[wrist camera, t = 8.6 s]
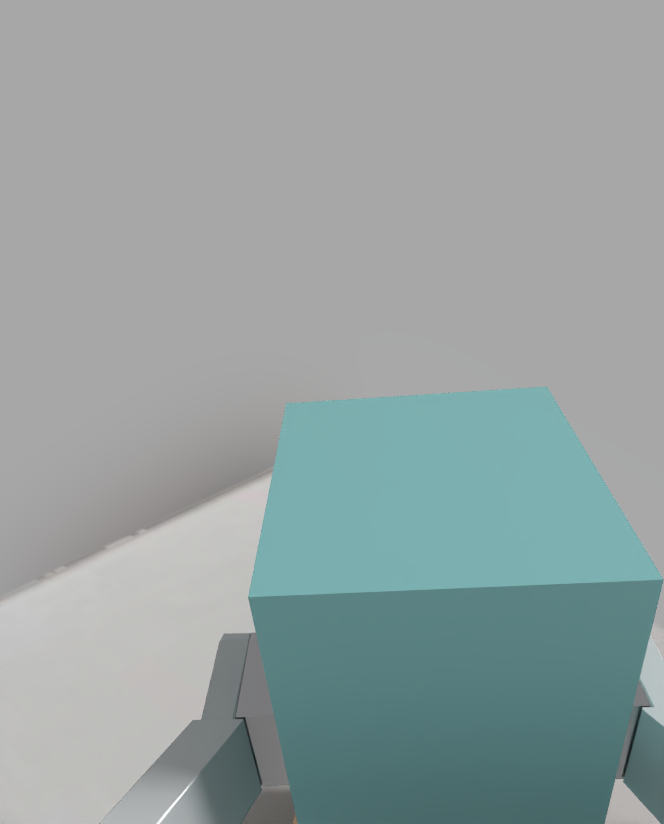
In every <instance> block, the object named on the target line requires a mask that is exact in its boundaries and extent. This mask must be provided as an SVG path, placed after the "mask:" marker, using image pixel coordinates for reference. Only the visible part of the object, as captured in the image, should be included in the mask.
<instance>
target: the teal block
mask: <svg viewBox="0 0 664 824" xmlns="http://www.w3.org/2000/svg"><path fill="white" fill-rule="evenodd" d="M662 584H663V578H662V576H661V575H660V573H659V571H658V570H657V568H656V566H655V565H654V563H653V561H652V560H651V558H650V556H649V555H648V553H647V551H646V550H645V548H644V547H643V545H642V543H641V542H640V540H639V538H638V537H637V535H636V533H635V532H634V530H633V528H632V527H631V525H630V524H629V522H628V520H627V518H626V517H625V515H624V513H623V512H622V510H621V508H620V507H619V505H618V503H617V502H616V500H615V499H614V497H613V495H612V494H611V492H610V490H609V489H608V487H607V485H606V484H605V482H604V480H603V479H602V477H601V475H600V474H599V472H598V471H597V469H596V467H595V465H594V464H593V462H592V461H591V459H590V457H589V455H588V454H587V452H586V451H585V449H584V447H583V446H582V444H581V442H580V441H579V439H578V437H577V436H576V434H575V433H574V431H573V429H572V427H571V426H570V424H569V422H568V421H567V419H566V417H565V416H564V414H563V412H562V411H561V409H560V407H559V406H558V404H557V403H556V401H555V399H554V398H553V396H552V394H551V393H550V391H549V389H548V388H547V387H534V388H518V389H503V390H488V391H472V392H456V393H441V394H426V395H410V396H396V397H395V396H394V397H379V398H363V399H348V400H332V401H317V402H302V403H287V404H286V409H285V413H284V418H283V423H282V428H281V433H280V438H279V443H278V449H277V454H276V459H275V464H274V469H273V474H272V479H271V484H270V489H269V494H268V499H267V504H266V510H265V515H264V520H263V525H262V530H261V535H260V540H259V545H258V550H257V555H256V560H255V565H254V571H253V576H252V581H251V586H250V591H249V596H248V598H249V603H250V607H251V612H252V617H253V621H254V626H255V630H256V635H257V640H258V644H259V649H260V653H261V658H262V662H263V667H264V672H265V676H266V681H267V685H268V690H269V695H270V699H271V704H272V708H273V713H274V717H275V722H276V727H277V731H278V736H279V740H280V745H281V749H282V754H283V759H284V763H285V768H286V772H287V777H288V782H289V786H290V791H291V795H292V800H293V804H294V809H295V814H296V818H297V823H298V824H604V823H605V819H606V815H607V811H608V806H609V802H610V798H611V794H612V790H613V786H614V782H615V778H616V773H617V769H618V765H619V761H620V757H621V753H622V749H623V745H624V740H625V736H626V732H627V728H628V724H629V720H630V716H631V712H632V707H633V703H634V699H635V695H636V691H637V687H638V683H639V679H640V674H641V670H642V666H643V662H644V658H645V654H646V650H647V646H648V642H649V637H650V633H651V629H652V625H653V621H654V617H655V613H656V609H657V604H658V600H659V596H660V592H661V588H662Z"/></svg>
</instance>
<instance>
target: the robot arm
mask: <svg viewBox="0 0 664 824" xmlns="http://www.w3.org/2000/svg"><path fill="white" fill-rule="evenodd" d="M615 779H624V781H623V782H624V783H625V784H626V786H627V787H628V788H629V789H630V790H631V791H632V792H633V793H634V794H635V795H636V797H637V798H638V799H639V800H640V801H641V802H642V803H643V804H644V805H645V806H646V807H647V809H648V810H649V811H650V812H651V813H652V814H653V815H654V816H655V817H656V818H657V820H658V821H659V822H660V823H661V824H664V659H663V657H662V655H661V653H660V651H659V649H658V648H657V646H656V644H655V642H654V640H653V638H652V636H651V634H650V637H649V642H648V646H647V650H646V654H645V658H644V662H643V666H642V670H641V674H640V679H639V683H638V687H637V691H636V695H635V699H634V703H633V707H632V712H631V716H630V720H629V724H628V728H627V732H626V736H625V740H624V745H623V749H622V753H621V757H620V761H619V765H618V769H617V773H616V778H615ZM279 785H289V782H288V777H287V772H286V768H285V763H284V759H283V754H282V749H281V745H280V740H279V736H278V731H277V727H276V722H275V717H274V713H273V708H272V704H271V699H270V695H269V690H268V685H267V681H266V676H265V672H264V667H263V662H262V658H261V653H260V649H259V644H258V640H257V635H256V633H232V634H224V635H223V636H222V638H221V640H220V642H219V646H218V650H217V654H216V659H215V663H214V667H213V672H212V676H211V680H210V684H209V689H208V693H207V697H206V702H205V706H204V710H203V715H202V719H201V720H193V721H192V722H191V723H190V724H189V725H188V726H187V727H186V728H185V729H184V731H183V732H182V733H181V734H180V735H179V736H178V737H177V738H176V739H175V740H174V742H173V743H172V744H171V745H170V746H169V747H168V748H167V749H166V750H165V752H164V753H163V754H162V755H161V756H160V757H159V758H158V759H157V760H156V761H155V763H154V764H153V765H152V766H151V767H150V768H149V769H148V770H147V771H146V773H145V774H144V775H143V776H142V777H141V778H140V779H139V780H138V781H137V782H136V784H135V785H134V786H133V787H132V788H131V789H130V790H129V791H128V792H127V794H126V795H125V796H124V797H123V798H122V799H121V800H120V801H119V802H118V803H117V805H116V806H115V807H114V808H113V809H112V810H111V811H110V812H109V813H108V815H107V816H106V817H105V818H104V819H103V820H102V821H101V822H100V823H99V824H241V822H242V821H243V819H244V817H245V816H246V814H247V813H248V811H249V809H250V808H251V806H252V805H253V803H254V801H255V800H256V798H257V797H258V795H259V794H260V792H261V790H262V789H261V786H279Z"/></svg>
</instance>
